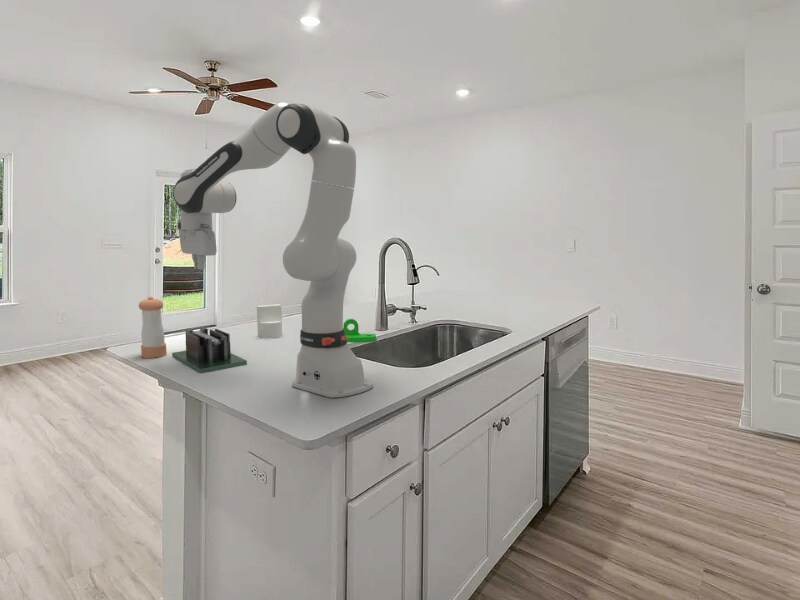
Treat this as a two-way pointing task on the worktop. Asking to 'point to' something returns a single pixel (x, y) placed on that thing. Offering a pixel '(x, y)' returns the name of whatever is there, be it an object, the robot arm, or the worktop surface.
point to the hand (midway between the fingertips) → (199, 269)
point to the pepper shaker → (152, 329)
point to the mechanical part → (357, 333)
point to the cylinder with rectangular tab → (269, 321)
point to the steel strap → (214, 340)
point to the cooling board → (208, 352)
